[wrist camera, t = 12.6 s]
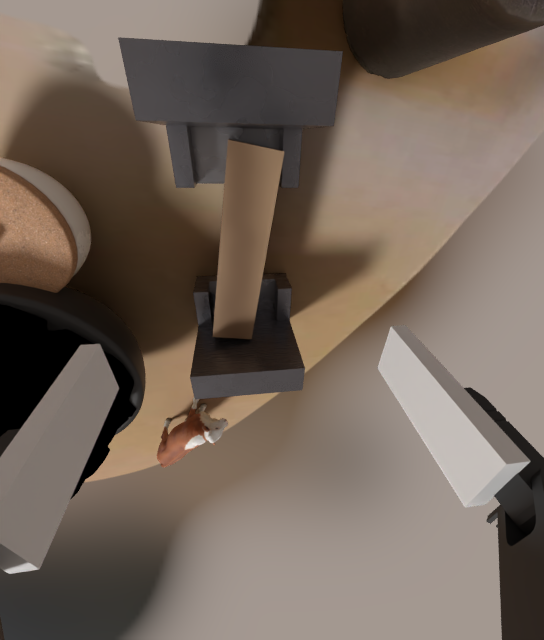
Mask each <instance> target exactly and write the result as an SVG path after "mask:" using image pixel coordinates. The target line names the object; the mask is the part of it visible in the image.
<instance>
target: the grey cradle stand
mask: <svg viewBox="0 0 544 640" xmlns="http://www.w3.org/2000/svg"><path fill="white" fill-rule="evenodd" d="M118 39H119V43H120V48H121V53H122V58H123V62H124V67H125V71H126V76H127V81H128V86H129V91H130V95H131V100H132V105H133V110H134V114H135V119H136V120H137V121H143V122H148V123H154V124H160V125H166V128H167V134H168V141H169V147H170V153H171V159H172V165H173V171H174V177H175V184H176V188H194V187H195V186H196V185H197V183H225V171H226V159H227V146H228V139H231V140H236V141H241V142H245V143H250V144H255V145H259V146H264V147H269V148H273V149H277V150H280V151H284V157H283V163H282V169H281V174H280V180H279V186H280V187H281V188H298V186H299V171H300V156H301V141H302V129H309V128H319V127H329V126H334V120H335V112H336V104H337V95H338V87H339V79H340V70H341V62H342V53H343V51H327V50H311V49H295V48H279V47H263V46H247V45H229V44H214V43H197V42H182V41H166V40H165V41H164V40H149V39H134V38H118ZM216 286H217V276H197V279H196V283H195V287H194V292H193V294H194V300H195V307H196V313H197V319H198V325H199V326H198V333H197V339H196V345H195V351H194V357H193V363H192V369H191V375H190V379H191V384H192V388H193V393H194V398H195V399H206V398H217V397H229V396H240V395H251V394H263V393H274V392H284V391H296V390H302V388H303V380H304V372H305V367H304V364H303V361H302V358H301V355H300V351H299V348H298V345H297V342H296V339H295V336H294V333H293V330H292V327H291V324H290V306H291V291H292V288H291V286H290V283H289V281H288V278H287V276H286V273H279V274H263V277H262V282H261V288H260V294H259V299H258V305H257V311H256V316H255V322H254V328H253V333H252V339H238V338H223V337H213V325H214V312H215V299H216Z"/></svg>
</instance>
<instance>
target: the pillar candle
mask: <svg viewBox="0 0 544 640" xmlns="http://www.w3.org/2000/svg"><path fill="white" fill-rule="evenodd" d="M343 19H344V27H345V33H346V34H347V39H348V43H349V46H350V48H351V50H352V53H353V55H354V56H355V57H356V59H357V61H358V62H359V63H360V65H361V66H362V67H363V68H364V69H365V70H366V71H367V72H368V73H370V74H376V75H378V76H379V75H380V76H383V77H384V78H387V79H389V78H397V77H402V76H405V75H407V74H410V73H413V72H416V71H419V70H421V69H424V68H427V67H430V66H433V65H435V64H438V63H441V62H444V61H447V60H449V59H452V58H455V57H457V56H460V55H462V54H465V53H468V52H471V51H473V50H476V49H479V48H481V47H484V46H487V45H490V44H493V43H496V42H499V41H501V40H504V39H507V38H509V37H512V36H515V35H518V34H521V33H524V32H527V31H529V30H532V29H535V28H537V27H540V26H543V25H544V0H343Z"/></svg>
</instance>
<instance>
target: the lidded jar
mask: <svg viewBox="0 0 544 640" xmlns="http://www.w3.org/2000/svg"><path fill="white" fill-rule="evenodd" d="M90 245H91V230H90V225H89V222H88V219H87V216H86V214H85V212H84V210H83V208H82V207H81V205H80V204H79V202H78V201H77V200H76V198H75V197H74V196H73V195H72V194H71V193H70V192H69V191H68V190H67V189H66V188H65V187H64V186H63V185H62V184H61V183H59V182H58V181H56V180H55V179H54V178H52V177H51V176H49V175H47V174H46V173H44V172H42V171H40V170H38V169H36V168H34V167H32V166H29V165H27V164H24V163H21V162H17V161H14V160H10V159H6V158H0V283H10V284H18V285H24V286H29V287H34V288H38V289H43V290H47V291H50V292H54V293H58V292H59V291H60V290H61V289H62V288H63V287H65V286H66V285H67V284H68V283H69V281H70V280H71V278H72V277H73V276H74V275H75V274H76V273H77V272H78V271H79V269H80V268H81V266H82V265H83V263H84V262H85V260H86V258H87V255H88V253H89V250H90Z"/></svg>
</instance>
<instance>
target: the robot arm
mask: <svg viewBox="0 0 544 640" xmlns="http://www.w3.org/2000/svg"><path fill="white" fill-rule="evenodd" d="M378 370H379V371H380V373H381V375H382V376H383V378H384V379H385V381H386V383H387V384H388V386H389V387H390V389H391V390H392V392H393V394H394V395H395V397H396V398H397V400H398V402H399V403H400V405H401V406H402V408H403V410H404V411H405V412H406V414H407V416H408V418H409V419H410V421H411V422H412V424H413V426H414V427H415V429H416V430H417V432H418V434H419V435H420V436H421V438H422V440H423V441H424V443H425V445H426V446H427V448H428V449H429V451H430V453H431V454H432V456H433V457H434V459H435V461H436V462H437V464H438V465H439V467H440V469H441V470H442V472H443V473H444V475H445V476H446V478H447V480H448V481H449V483H450V485H451V486H452V488H453V489H454V491H455V492H456V494H457V496H458V497H459V499H460V500H461V502H462V504H463V505H464V507H471V506H479V505H485V504H487V503H488V502H489V501H490V500H491V499H492V498H493V497H494V496H495V497H496V499H497V500H498V502H499V503H500V504H501V505H500V506H499V507H497V508H496V509H495V510H494V511H493V512H492V513H491V514H490V515H489V516H488V518H487V522H488V523H492V522H493V521H494V520H495V519H496V518H498V524H497V525H496V527H497V528H498V539H499V541H498V543H499V570H500V597H501V625H502V640H544V458H543V457H542V456H541V455H540V454H539V453H538V452H537V451H536V449H534V447H533V446H532V445H531V444H530V443H529V442H528V441H527V440H526V439H525V438H524V437H523V436H522V435H521V434H520V433H519V432H518V431H517V430H516V429H515V428H514V427H513V426H512V425H511V424H510V423H509V422H507V421H506V419H505V417H504V416H502V414H501V413H500V412H499V411H498V412H497V411H496V408H495V407H494V406H493V405H492V404H491V403H490V402H489V401H488V400H487V399H486V398H485V397H484V396H482V395H481V394H479V393H478V392H476V391H475V390H473V389H472V388H463V387H462V386H461V385H460V384H459V383H458V381H457V380H456V379H455V378H454V377H453V376H452V375H451V374H450V373H449V372H448V371H447V369H446V368H445V367H444V366H443V365H442V364H441V363H440V362H439V361H438V360H437V359H436V357H435V356H434V355H433V354H432V353H431V352H430V351H429V350H428V349H427V348H426V347H425V345H424V344H423V343H422V342H421V341H420V340H419V339H418V338H417V337H416V336H415V335H414V333H412V331H411V330H410V329H409V328H408V327H407V326H391V328H390V331H389V334H388V338H387V341H386V344H385V347H384V350H383V353H382V356H381V359H380V362H379V365H378ZM118 390H119V386H118V384H117V382H116V380H115V377H114V375H113V373H112V370H111V368H110V366H109V364H108V361H107V359H106V357H105V354H104V352H103V350H102V347H101V345H100V344H88V345H80V346H79V348H78V349H77V351H76V352H75V353H74V355H73V356H72V358H71V359H70V360H69V362H68V363H67V365H66V366H65V367H64V369H63V370H62V372H61V373H60V374H59V376H58V377H57V379H56V380H55V381H54V383H53V384H52V386H51V387H50V388H49V390H48V391H47V393H46V394H45V395H44V397H43V398H42V400H41V401H40V402H39V404H38V405H37V407H36V408H35V409H34V411H33V412H32V414H31V415H30V416H29V418H28V419H27V420H26V422H25V423H24V425H23V426H22V427H21V429H14V430H8V431H7V432H6V433H4V434H3V435H2V436H1V437H0V569H2V570H4V571H6V572H7V573H9V574H11V573H17V572H25V571H30V570H38V569H40V567H41V565H42V562H43V560H44V558H45V555H46V553H47V551H48V548H49V546H50V544H51V542H52V540H53V537H54V535H55V533H56V530H57V528H58V526H59V524H60V522H61V519H62V517H63V514H64V512H65V510H66V508H67V506H68V503H69V501H70V499H71V497H72V494H73V492H74V490H75V488H76V485H77V483H78V481H79V478H80V476H81V474H82V472H83V469H84V467H85V465H86V463H87V460H88V458H89V456H90V453H91V451H92V449H93V447H94V444H95V442H96V440H97V438H98V435H99V433H100V431H101V429H102V426H103V424H104V422H105V419H106V417H107V415H108V413H109V410H110V408H111V406H112V404H113V401H114V399H115V397H116V395H117V392H118ZM0 640H4V635H3V629H2V623H1V618H0Z"/></svg>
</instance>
